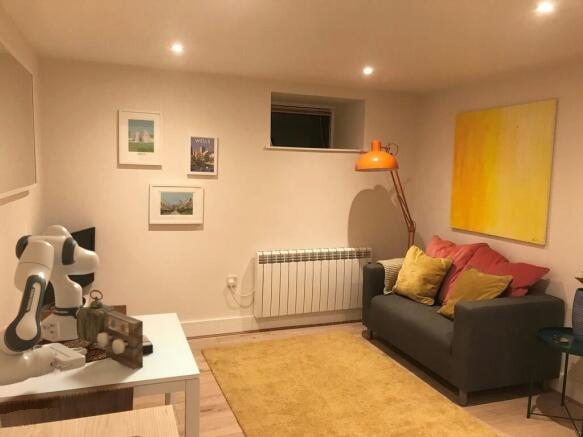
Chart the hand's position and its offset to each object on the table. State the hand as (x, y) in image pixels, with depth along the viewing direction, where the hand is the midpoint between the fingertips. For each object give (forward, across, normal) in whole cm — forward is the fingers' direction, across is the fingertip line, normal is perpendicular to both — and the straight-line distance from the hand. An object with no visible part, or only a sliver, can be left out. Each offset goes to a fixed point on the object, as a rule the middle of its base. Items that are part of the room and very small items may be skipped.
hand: (84, 350), depth 171 cm
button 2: (+16, 0, +5) cm, 16 cm away
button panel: (+19, +6, +11) cm, 22 cm away
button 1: (+16, +11, +5) cm, 20 cm away
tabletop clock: (+19, +27, +11) cm, 35 cm away
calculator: (+30, +14, +12) cm, 35 cm away
